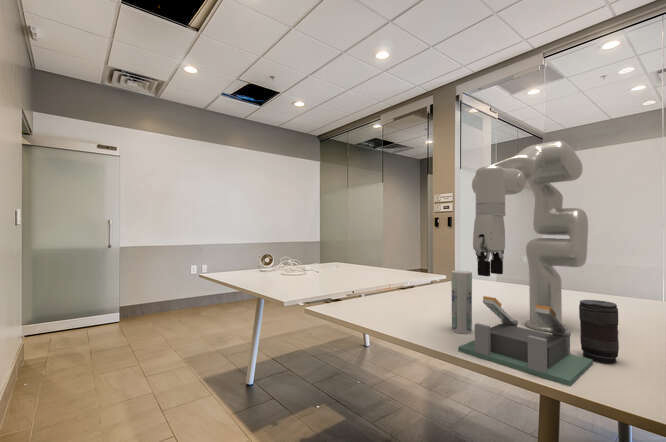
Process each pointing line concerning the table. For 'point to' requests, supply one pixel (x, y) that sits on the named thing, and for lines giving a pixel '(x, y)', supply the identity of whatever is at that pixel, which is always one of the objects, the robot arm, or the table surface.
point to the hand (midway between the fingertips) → (490, 274)
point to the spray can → (461, 301)
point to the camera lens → (599, 330)
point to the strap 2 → (549, 318)
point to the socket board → (528, 351)
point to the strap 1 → (496, 308)
